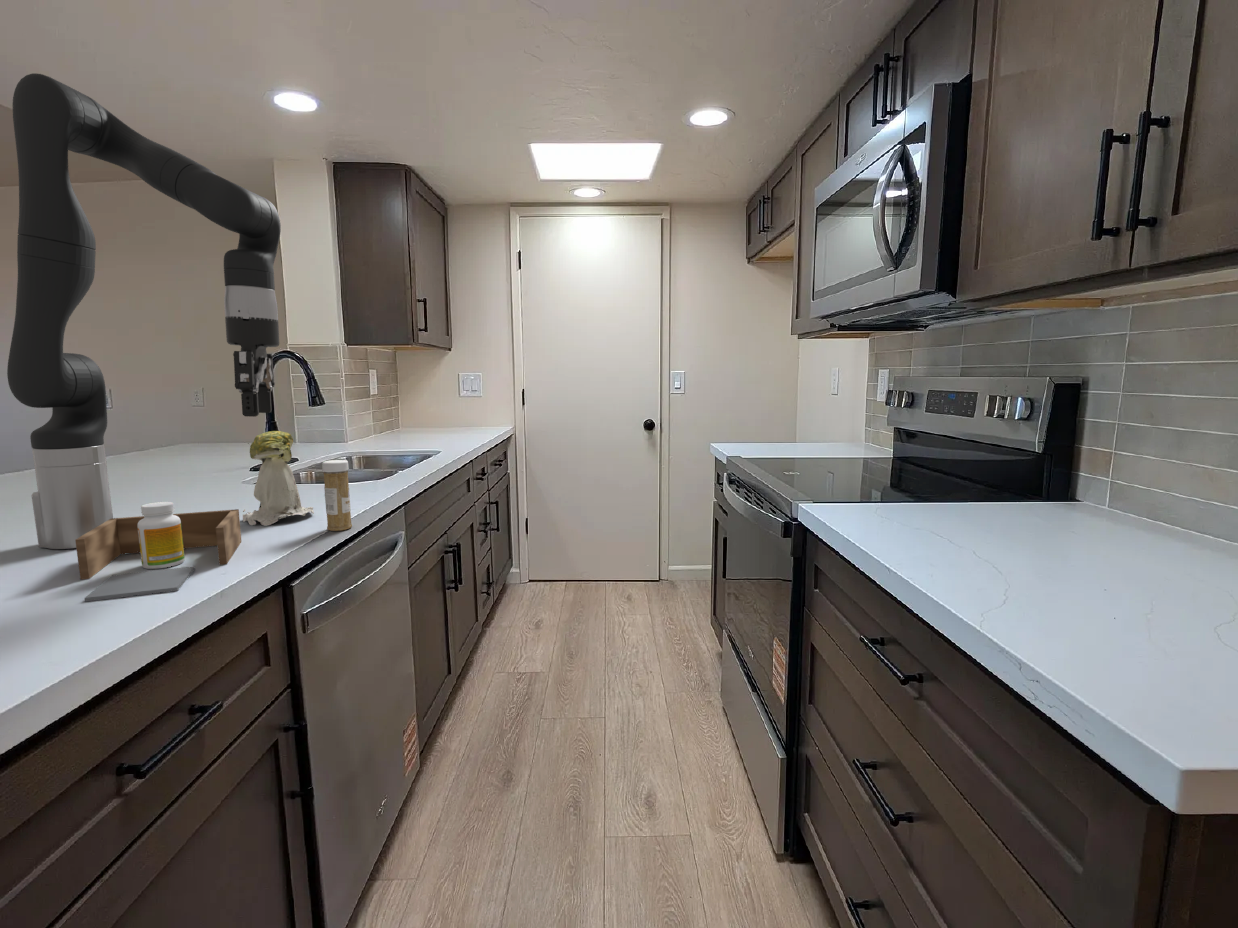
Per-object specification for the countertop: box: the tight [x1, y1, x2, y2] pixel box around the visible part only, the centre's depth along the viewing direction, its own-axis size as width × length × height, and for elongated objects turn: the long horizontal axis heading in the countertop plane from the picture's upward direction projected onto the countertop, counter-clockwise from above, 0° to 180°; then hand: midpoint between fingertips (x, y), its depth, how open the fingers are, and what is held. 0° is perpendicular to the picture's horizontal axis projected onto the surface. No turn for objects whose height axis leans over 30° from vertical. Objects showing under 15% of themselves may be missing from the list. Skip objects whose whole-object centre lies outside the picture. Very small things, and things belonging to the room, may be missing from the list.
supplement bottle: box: [137, 501, 186, 570], centre depth 92 cm, size 5×5×10 cm
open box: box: [75, 508, 242, 580], centre depth 95 cm, size 14×18×6 cm
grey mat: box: [84, 565, 196, 602], centre depth 84 cm, size 10×10×1 cm
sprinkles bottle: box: [321, 459, 353, 532], centre depth 114 cm, size 5×5×14 cm
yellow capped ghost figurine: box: [242, 430, 315, 527], centre depth 122 cm, size 12×13×18 cm
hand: (257, 414), depth 100 cm, fingers open, 8 cm apart
